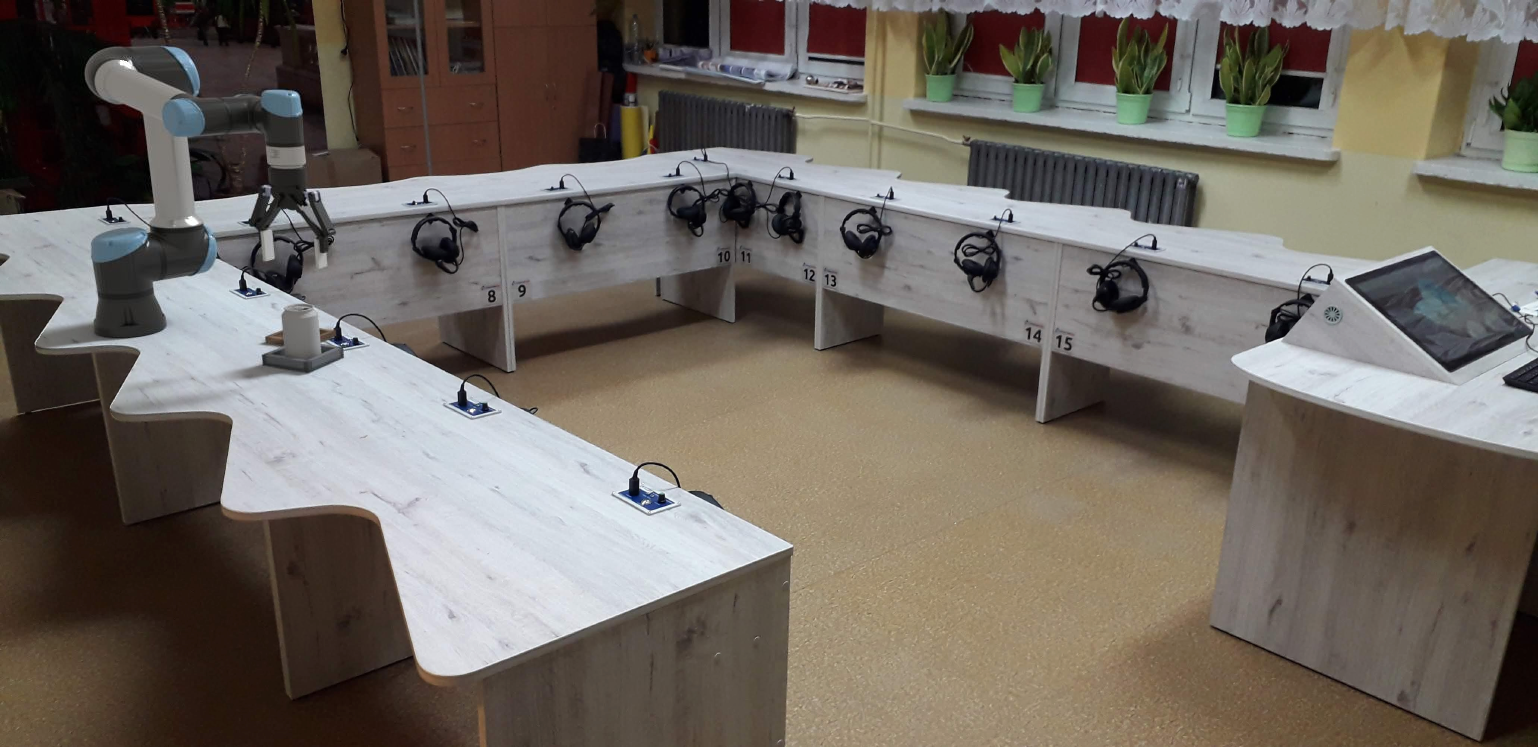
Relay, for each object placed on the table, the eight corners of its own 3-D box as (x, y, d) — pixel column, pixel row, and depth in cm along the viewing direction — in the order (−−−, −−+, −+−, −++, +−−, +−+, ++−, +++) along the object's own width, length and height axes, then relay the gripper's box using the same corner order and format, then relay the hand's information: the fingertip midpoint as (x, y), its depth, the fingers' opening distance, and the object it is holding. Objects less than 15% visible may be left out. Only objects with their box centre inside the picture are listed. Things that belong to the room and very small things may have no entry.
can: (309, 364, 246) (304, 312, 242) (278, 361, 247) (273, 309, 243) (328, 354, 253) (324, 303, 249) (298, 351, 254) (293, 300, 250)
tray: (262, 365, 246) (261, 354, 245) (299, 350, 257) (298, 340, 256) (309, 373, 243) (308, 362, 242) (344, 357, 254) (343, 347, 253)
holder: (265, 342, 261) (265, 336, 260) (297, 330, 271) (296, 324, 270) (305, 349, 258) (305, 342, 258) (336, 336, 268) (335, 330, 268)
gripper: (224, 162, 236) (235, 260, 242) (325, 173, 229) (333, 274, 236) (250, 158, 242) (259, 253, 249) (348, 169, 236) (355, 266, 243)
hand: (295, 263), depth 243 cm, fingers open, 13 cm apart
